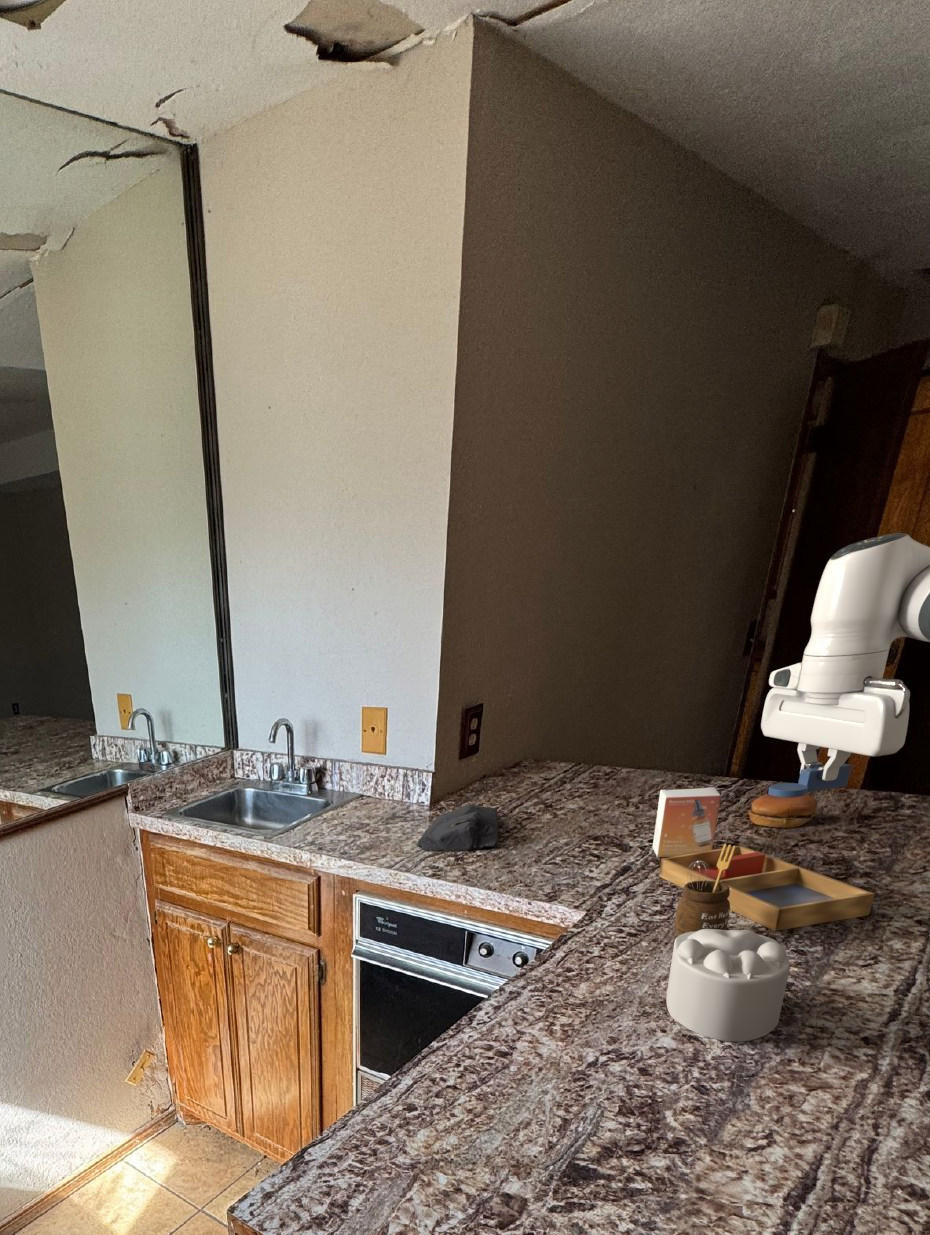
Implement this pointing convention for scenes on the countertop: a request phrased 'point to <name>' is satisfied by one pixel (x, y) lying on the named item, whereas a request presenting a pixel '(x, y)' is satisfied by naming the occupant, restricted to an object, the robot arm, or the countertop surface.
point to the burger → (782, 811)
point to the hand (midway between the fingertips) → (817, 777)
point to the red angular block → (739, 866)
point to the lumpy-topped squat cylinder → (727, 983)
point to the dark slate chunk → (462, 830)
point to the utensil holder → (705, 901)
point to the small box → (686, 821)
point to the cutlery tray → (775, 891)
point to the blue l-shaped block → (810, 783)
